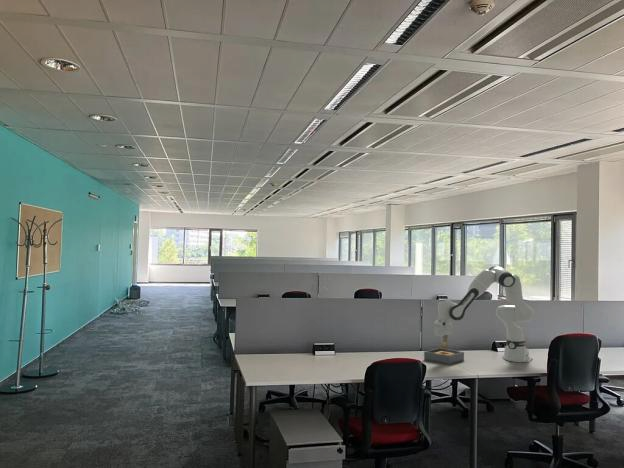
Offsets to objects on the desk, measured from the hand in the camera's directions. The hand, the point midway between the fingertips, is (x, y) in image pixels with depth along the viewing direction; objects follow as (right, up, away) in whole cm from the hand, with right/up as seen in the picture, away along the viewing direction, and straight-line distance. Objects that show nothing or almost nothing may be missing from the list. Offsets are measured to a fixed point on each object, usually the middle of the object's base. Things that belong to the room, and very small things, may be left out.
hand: (444, 341), depth 330 cm
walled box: (0, -13, 0) cm, 13 cm away
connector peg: (0, -4, 0) cm, 4 cm away
